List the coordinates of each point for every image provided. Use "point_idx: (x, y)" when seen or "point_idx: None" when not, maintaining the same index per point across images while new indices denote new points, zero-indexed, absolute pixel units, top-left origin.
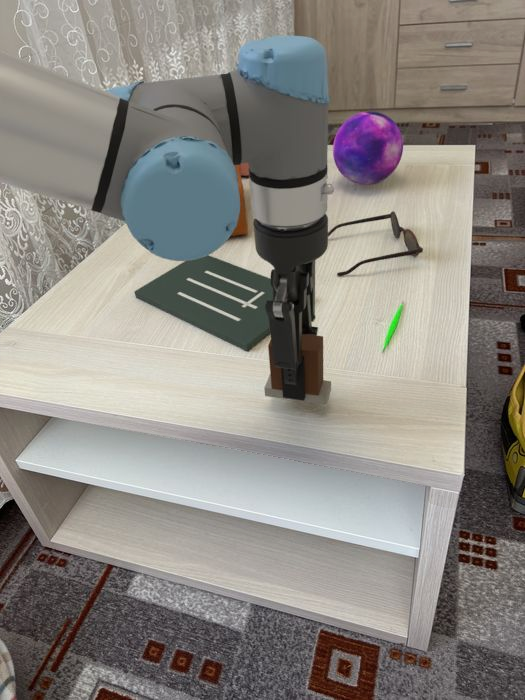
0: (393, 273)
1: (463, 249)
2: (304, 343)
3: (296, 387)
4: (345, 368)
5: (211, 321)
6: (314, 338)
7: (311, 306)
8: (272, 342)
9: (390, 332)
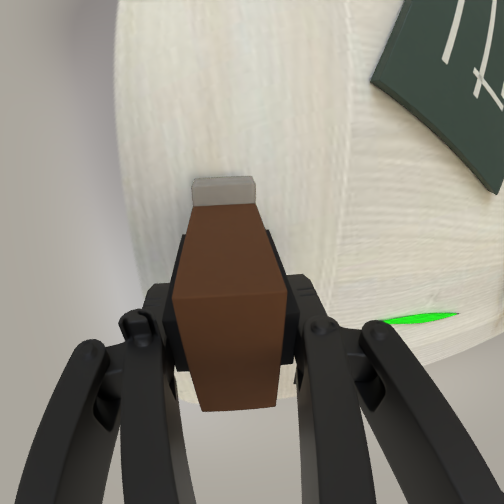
0: (500, 285)
1: (500, 332)
2: (227, 387)
3: None
4: (337, 283)
5: (428, 7)
6: (260, 397)
7: (368, 417)
8: (36, 440)
9: (407, 322)
